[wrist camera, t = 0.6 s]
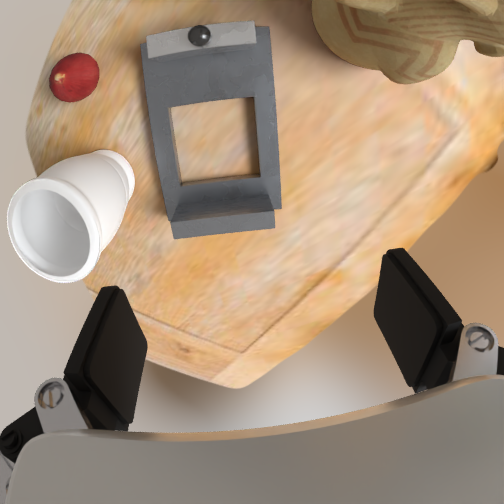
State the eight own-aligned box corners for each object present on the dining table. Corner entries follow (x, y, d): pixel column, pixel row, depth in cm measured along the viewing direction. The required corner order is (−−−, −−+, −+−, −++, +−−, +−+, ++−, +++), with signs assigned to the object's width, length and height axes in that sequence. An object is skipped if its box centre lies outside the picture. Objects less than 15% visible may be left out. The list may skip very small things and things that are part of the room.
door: (158, 42, 25) (142, 34, 20) (250, 30, 26) (255, 17, 20) (160, 62, 27) (145, 57, 21) (252, 49, 27) (257, 41, 21)
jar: (127, 128, 31) (67, 159, 19) (155, 203, 37) (119, 270, 24) (60, 159, 32) (-10, 204, 19) (89, 226, 38) (39, 293, 25)
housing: (143, 45, 26) (126, 38, 21) (267, 28, 27) (275, 16, 21) (170, 216, 38) (161, 240, 32) (279, 204, 38) (288, 226, 33)
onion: (69, 103, 29) (34, 111, 22) (68, 60, 26) (33, 59, 19) (109, 95, 29) (80, 100, 22) (109, 51, 26) (79, 44, 19)
